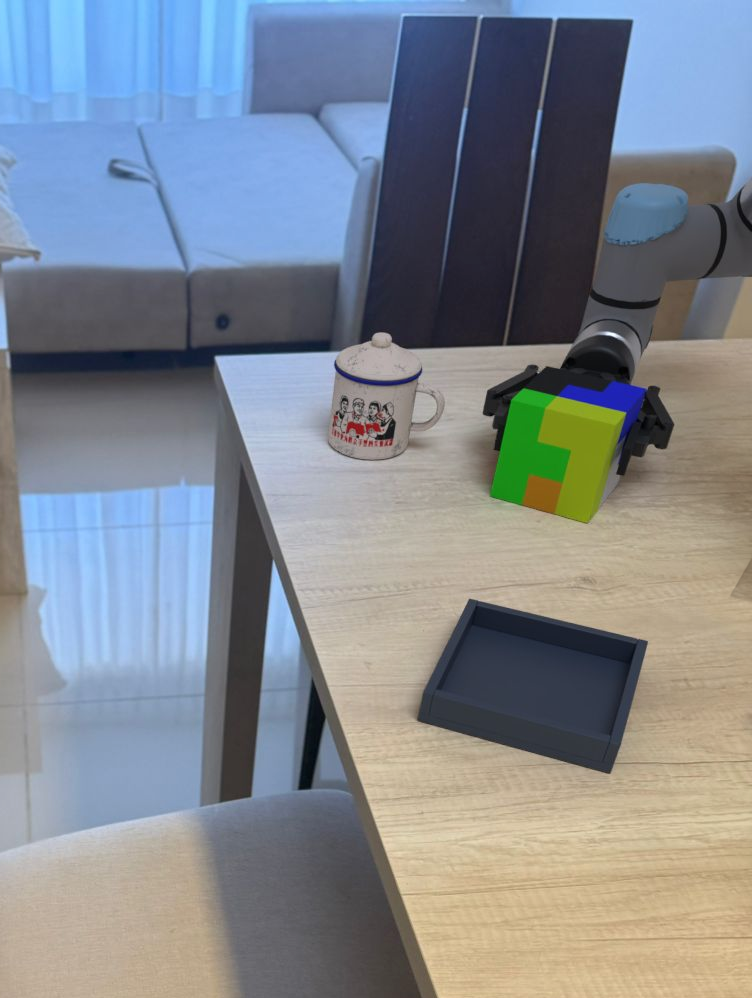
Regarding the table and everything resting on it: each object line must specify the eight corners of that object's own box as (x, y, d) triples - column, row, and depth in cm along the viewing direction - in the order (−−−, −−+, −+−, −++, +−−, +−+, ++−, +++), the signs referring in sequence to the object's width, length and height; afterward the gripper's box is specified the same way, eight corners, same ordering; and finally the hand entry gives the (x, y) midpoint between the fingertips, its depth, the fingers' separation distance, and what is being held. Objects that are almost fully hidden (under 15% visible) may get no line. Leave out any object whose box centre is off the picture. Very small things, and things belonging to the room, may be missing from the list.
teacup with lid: (315, 453, 124) (327, 343, 116) (338, 419, 130) (350, 314, 122) (425, 473, 120) (445, 362, 112) (443, 438, 127) (464, 330, 119)
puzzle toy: (618, 483, 119) (646, 388, 112) (587, 523, 113) (615, 425, 106) (524, 459, 123) (546, 366, 116) (490, 496, 117) (511, 400, 110)
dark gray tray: (638, 669, 95) (648, 640, 93) (610, 774, 85) (620, 744, 83) (463, 625, 99) (469, 598, 97) (417, 720, 89) (422, 691, 88)
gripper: (700, 422, 125) (676, 511, 110) (484, 383, 132) (434, 461, 117) (724, 353, 120) (701, 436, 105) (498, 316, 127) (447, 389, 112)
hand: (560, 449), depth 111 cm, fingers closed on puzzle toy, 11 cm apart
